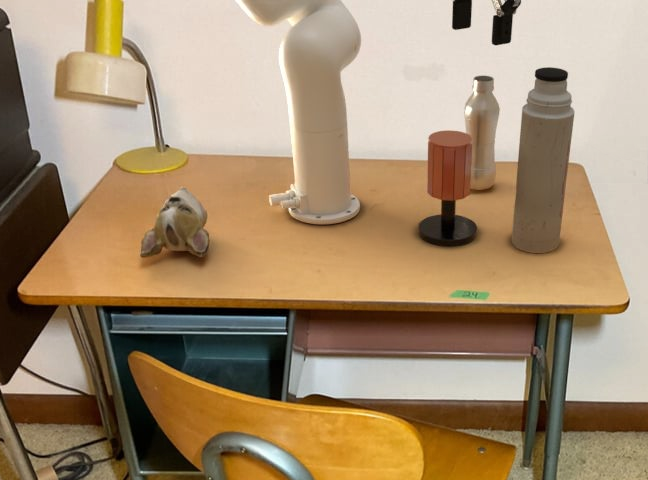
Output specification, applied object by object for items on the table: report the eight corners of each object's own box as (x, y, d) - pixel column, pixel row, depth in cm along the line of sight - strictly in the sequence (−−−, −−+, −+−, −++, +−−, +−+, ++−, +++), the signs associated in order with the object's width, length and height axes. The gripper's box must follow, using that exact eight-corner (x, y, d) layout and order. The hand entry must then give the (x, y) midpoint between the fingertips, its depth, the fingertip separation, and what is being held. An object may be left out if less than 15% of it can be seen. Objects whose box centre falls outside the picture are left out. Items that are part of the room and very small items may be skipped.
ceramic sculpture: (214, 177, 139) (199, 222, 127) (222, 224, 144) (209, 271, 133) (148, 177, 138) (127, 223, 127) (159, 225, 144) (140, 272, 132)
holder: (434, 251, 139) (435, 156, 129) (408, 226, 146) (408, 135, 136) (487, 240, 143) (493, 147, 133) (460, 216, 150) (463, 126, 140)
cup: (439, 203, 136) (440, 148, 130) (420, 187, 141) (421, 133, 135) (477, 196, 138) (480, 142, 133) (458, 180, 143) (459, 127, 138)
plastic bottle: (501, 185, 161) (509, 77, 149) (483, 197, 156) (490, 86, 144) (472, 177, 164) (477, 70, 151) (454, 188, 159) (457, 79, 147)
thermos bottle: (561, 234, 145) (581, 65, 128) (556, 255, 139) (577, 81, 122) (514, 229, 146) (528, 61, 129) (508, 250, 140) (522, 76, 123)
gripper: (429, -103, 119) (427, 26, 130) (506, -86, 108) (497, 53, 119) (471, -106, 123) (466, 20, 133) (550, -89, 112) (537, 46, 122)
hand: (480, 35), depth 126 cm, fingers open, 9 cm apart
